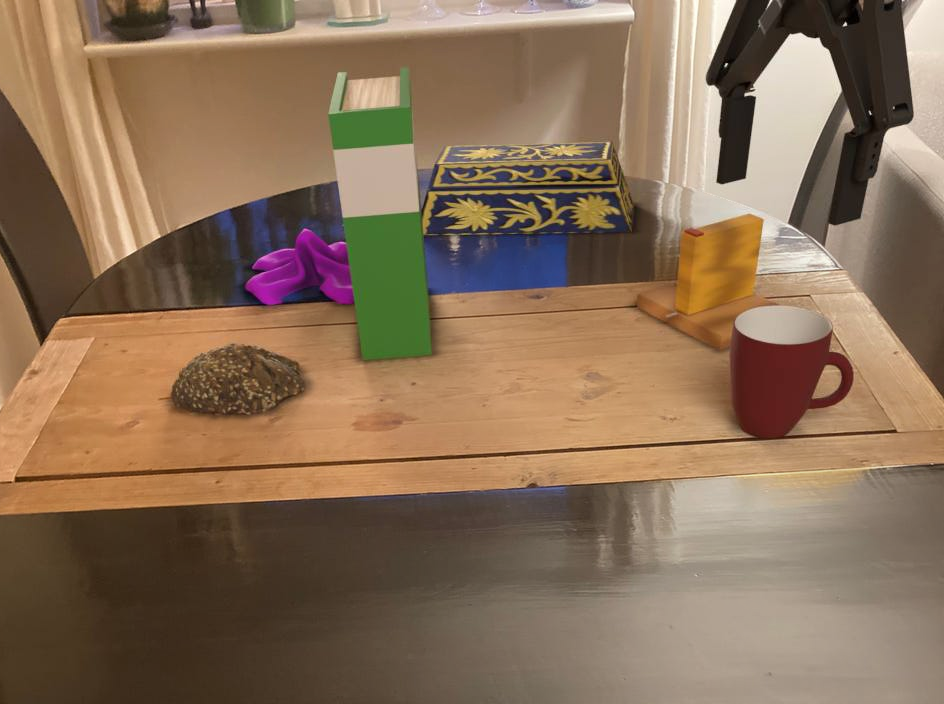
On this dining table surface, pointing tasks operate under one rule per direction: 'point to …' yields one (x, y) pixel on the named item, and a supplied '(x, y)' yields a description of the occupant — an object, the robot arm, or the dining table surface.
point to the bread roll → (236, 381)
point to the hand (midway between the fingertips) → (784, 200)
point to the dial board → (699, 314)
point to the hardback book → (382, 213)
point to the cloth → (304, 271)
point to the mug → (781, 367)
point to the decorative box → (527, 190)
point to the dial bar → (718, 263)
